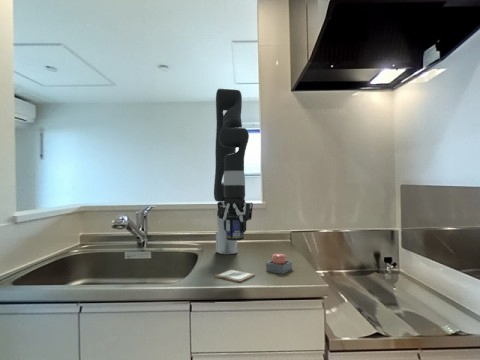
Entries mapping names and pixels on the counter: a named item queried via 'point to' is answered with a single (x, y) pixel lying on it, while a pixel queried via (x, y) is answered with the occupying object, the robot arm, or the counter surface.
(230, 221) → the pill bottle
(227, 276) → the picture frame
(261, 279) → the counter surface
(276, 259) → the button
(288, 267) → the button collar
